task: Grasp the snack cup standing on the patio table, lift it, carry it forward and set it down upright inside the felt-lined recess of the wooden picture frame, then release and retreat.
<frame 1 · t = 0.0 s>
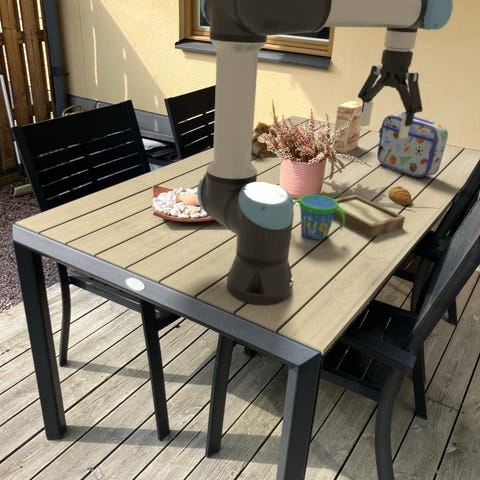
hand: (383, 131, 137), 28 cm above the table, fingers open, 13 cm apart
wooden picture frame: (361, 219, 152), on the table
stuffed squirrel: (262, 153, 209), on the table
pastry: (400, 200, 169), on the table
coffeecake box: (344, 148, 222), on the table
snack cup: (314, 235, 141), on the table
lunch box: (403, 170, 198), on the table
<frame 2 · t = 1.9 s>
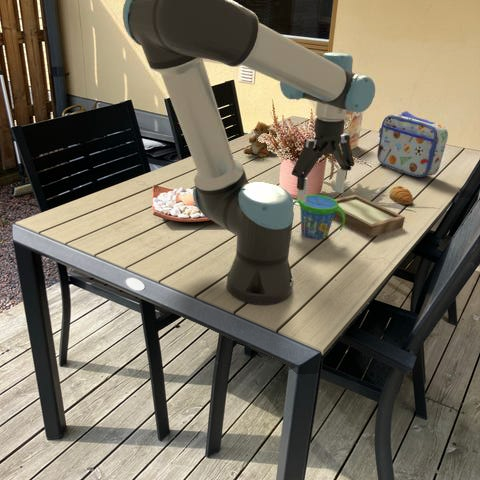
hand: (320, 195, 136), 12 cm above the table, fingers open, 13 cm apart
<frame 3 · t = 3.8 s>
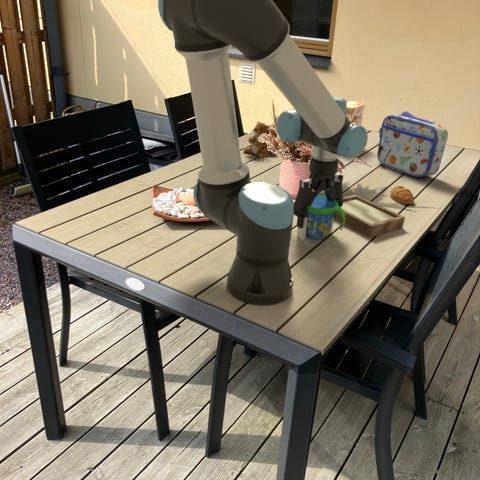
hand: (314, 233, 141), 0 cm above the table, fingers closed on snack cup, 9 cm apart
snack cup: (314, 235, 141), on the table, touching gripper
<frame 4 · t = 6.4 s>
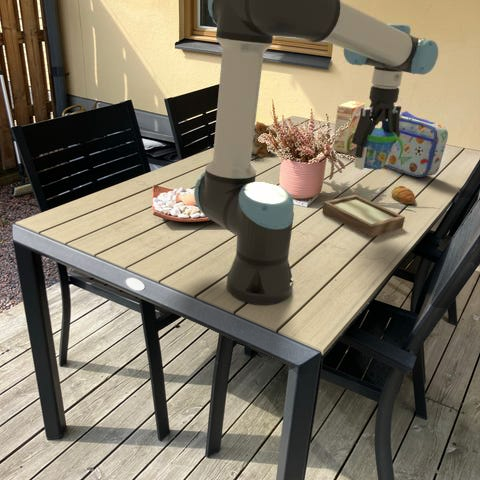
hand: (371, 165, 144), 17 cm above the table, fingers closed on snack cup, 9 cm apart
snack cup: (370, 167, 144), point 17 cm above the table, touching gripper
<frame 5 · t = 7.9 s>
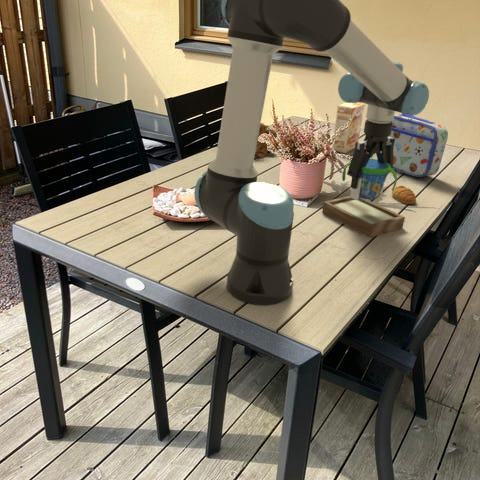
hand: (366, 195, 148), 8 cm above the table, fingers closed on snack cup, 9 cm apart
snack cup: (365, 196, 148), point 8 cm above the table, touching gripper
when the fingers open (4 cm above the table, at t = 9.2 s): snack cup moves 2 cm, point 3 cm above the table.
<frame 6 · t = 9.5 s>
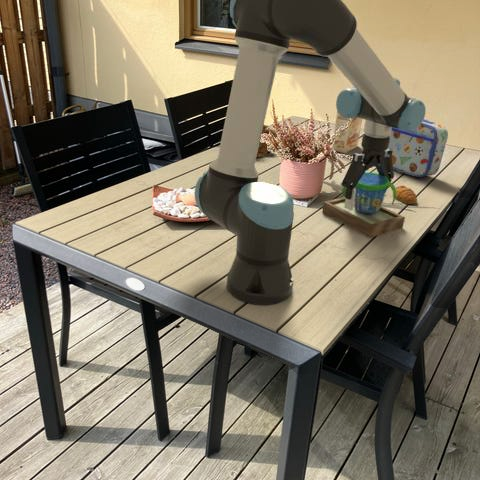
hand: (363, 205, 149), 5 cm above the table, fingers open, 12 cm apart
snack cup: (366, 210, 151), point 3 cm above the table, touching gripper
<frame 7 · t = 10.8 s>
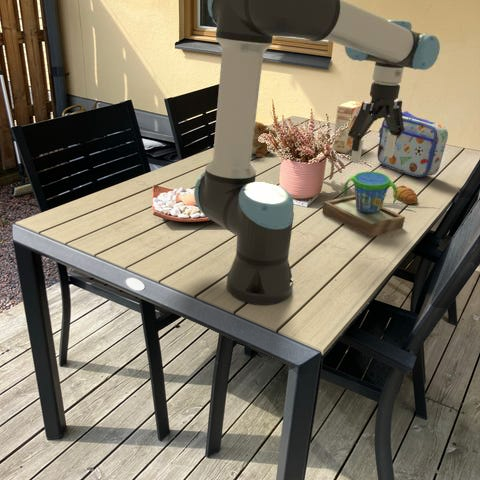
hand: (371, 159, 143), 19 cm above the table, fingers open, 13 cm apart
snack cup: (368, 209, 152), point 3 cm above the table, touching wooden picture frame
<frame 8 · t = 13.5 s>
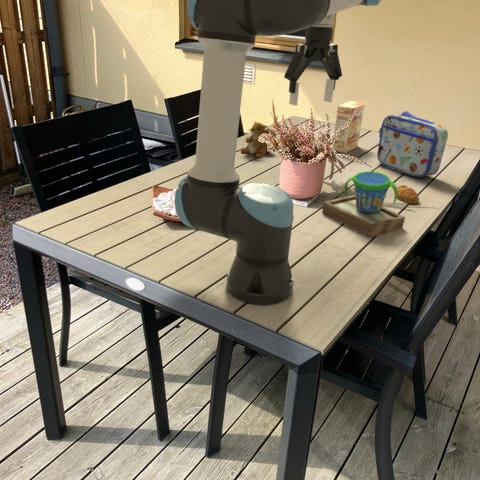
hand: (310, 103, 148), 32 cm above the table, fingers open, 13 cm apart
at the end: snack cup inside the target area on the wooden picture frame (2.4 cm from its centre), point 2.9 cm above the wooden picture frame's base; snack cup tilted 6°; the gripper is holding nothing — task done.
